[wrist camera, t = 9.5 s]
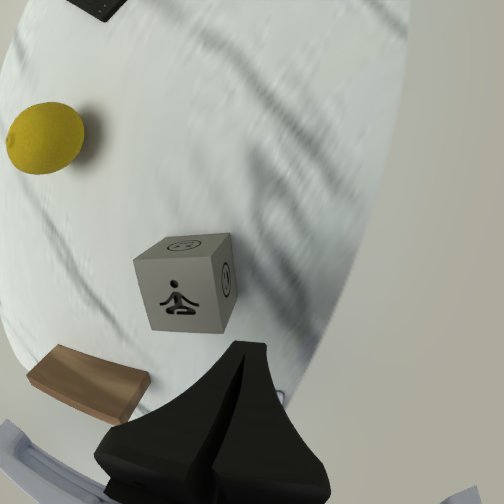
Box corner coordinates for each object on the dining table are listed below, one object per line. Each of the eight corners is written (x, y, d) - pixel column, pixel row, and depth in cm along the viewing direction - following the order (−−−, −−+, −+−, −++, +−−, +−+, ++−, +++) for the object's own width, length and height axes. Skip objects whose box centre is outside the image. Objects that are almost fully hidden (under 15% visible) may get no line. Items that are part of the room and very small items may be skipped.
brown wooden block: (150, 382, 26) (123, 428, 19) (61, 353, 28) (31, 385, 21) (147, 371, 25) (118, 418, 19) (57, 344, 27) (26, 375, 20)
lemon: (111, 146, 18) (35, 150, 11) (70, 180, 20) (0, 196, 12) (92, 93, 17) (21, 82, 9) (53, 130, 18) (-14, 133, 11)
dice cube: (177, 296, 22) (151, 330, 17) (166, 237, 20) (132, 260, 16) (237, 296, 21) (223, 333, 16) (229, 232, 19) (210, 256, 15)
